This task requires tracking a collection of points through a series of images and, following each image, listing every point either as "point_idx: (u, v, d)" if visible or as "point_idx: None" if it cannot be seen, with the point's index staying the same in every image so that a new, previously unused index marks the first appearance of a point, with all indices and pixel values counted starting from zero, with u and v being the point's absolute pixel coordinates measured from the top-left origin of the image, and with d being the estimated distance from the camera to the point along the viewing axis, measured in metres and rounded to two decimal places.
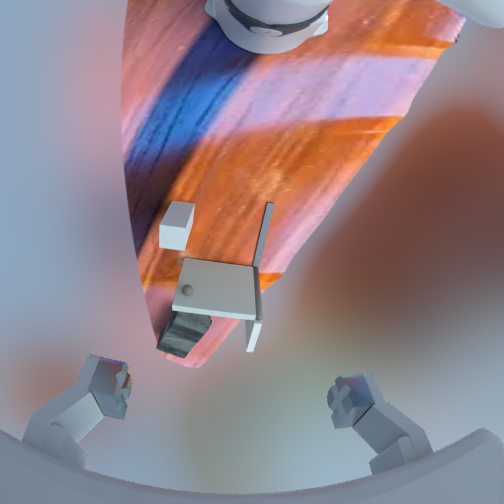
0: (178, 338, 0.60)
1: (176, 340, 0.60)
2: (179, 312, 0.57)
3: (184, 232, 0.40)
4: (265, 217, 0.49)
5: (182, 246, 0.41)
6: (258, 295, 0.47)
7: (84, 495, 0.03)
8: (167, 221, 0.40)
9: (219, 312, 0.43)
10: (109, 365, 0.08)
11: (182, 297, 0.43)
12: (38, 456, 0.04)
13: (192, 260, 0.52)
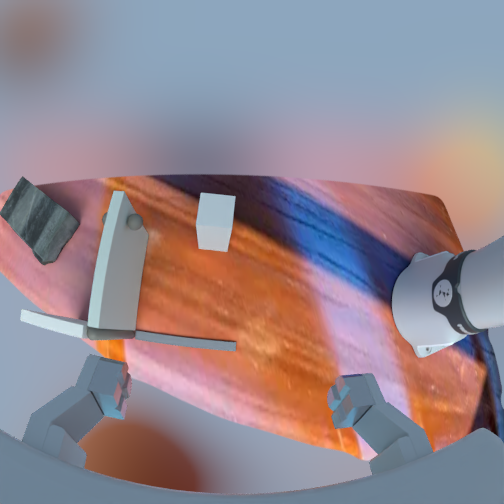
0: (31, 209, 0.31)
1: (28, 205, 0.31)
2: (70, 216, 0.33)
3: (225, 226, 0.30)
4: (214, 341, 0.35)
5: (203, 222, 0.30)
6: (114, 335, 0.25)
7: (84, 495, 0.03)
8: None
9: (104, 264, 0.23)
10: (109, 365, 0.08)
11: (126, 212, 0.26)
12: (38, 456, 0.04)
13: (146, 245, 0.36)
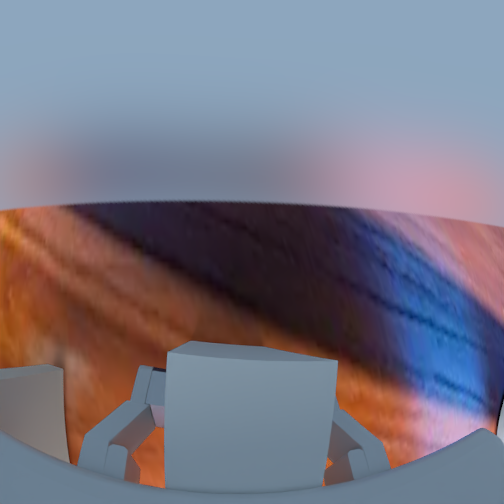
0: None
1: None
2: None
3: None
4: None
5: (195, 490, 0.05)
6: None
7: (84, 495, 0.03)
8: None
9: None
10: (163, 375, 0.08)
11: None
12: (38, 456, 0.04)
13: (60, 395, 0.11)
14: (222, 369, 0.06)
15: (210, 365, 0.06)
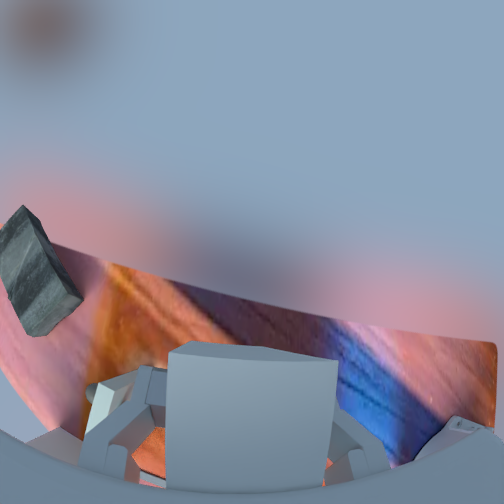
0: (23, 262, 0.23)
1: (21, 255, 0.23)
2: (70, 296, 0.24)
3: None
4: None
5: (196, 490, 0.05)
6: None
7: (84, 495, 0.03)
8: None
9: None
10: (162, 375, 0.08)
11: (118, 402, 0.15)
12: (38, 456, 0.04)
13: None
14: (223, 369, 0.06)
15: (211, 365, 0.06)
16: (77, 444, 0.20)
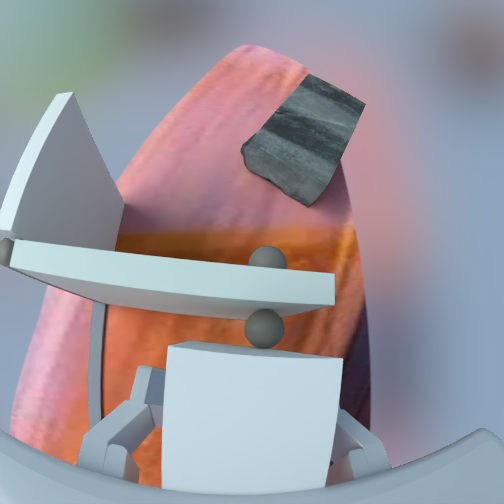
0: (322, 121, 0.24)
1: (327, 116, 0.25)
2: (319, 190, 0.23)
3: None
4: (99, 421, 0.17)
5: (193, 491, 0.04)
6: (49, 284, 0.12)
7: (84, 495, 0.03)
8: None
9: (126, 279, 0.09)
10: (162, 375, 0.08)
11: (284, 308, 0.12)
12: (38, 456, 0.04)
13: (244, 319, 0.22)
14: (224, 364, 0.06)
15: (212, 360, 0.05)
16: (112, 232, 0.21)
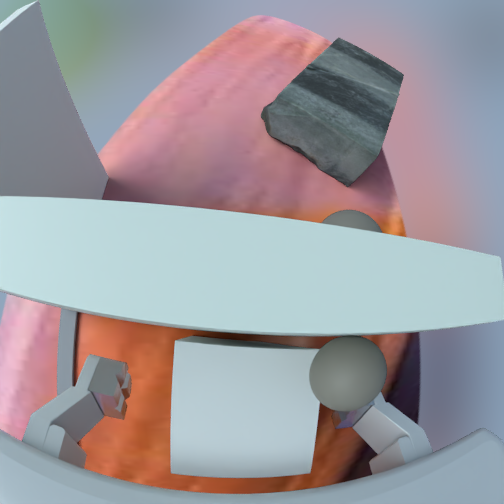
0: (362, 83, 0.18)
1: (366, 80, 0.18)
2: (367, 162, 0.17)
3: (286, 471, 0.06)
4: None
5: (197, 467, 0.06)
6: None
7: (84, 495, 0.03)
8: None
9: (13, 269, 0.02)
10: (109, 365, 0.08)
11: None
12: (38, 456, 0.04)
13: None
14: (222, 355, 0.07)
15: (212, 351, 0.07)
16: None
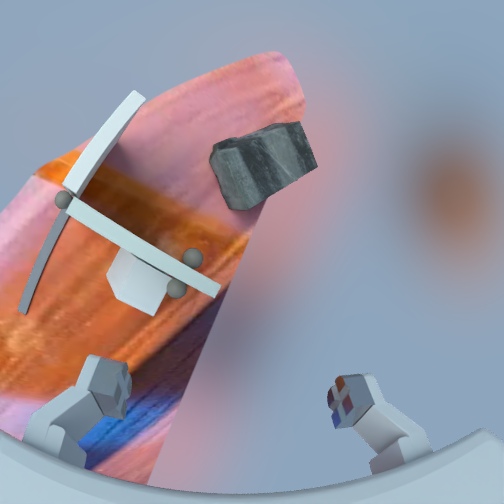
0: (278, 164, 0.35)
1: (283, 162, 0.36)
2: (242, 208, 0.34)
3: (147, 311, 0.23)
4: (31, 293, 0.23)
5: (125, 298, 0.22)
6: None
7: (84, 495, 0.03)
8: None
9: (136, 251, 0.18)
10: (108, 365, 0.08)
11: None
12: (38, 456, 0.04)
13: None
14: (147, 267, 0.23)
15: (145, 265, 0.23)
16: (100, 164, 0.25)
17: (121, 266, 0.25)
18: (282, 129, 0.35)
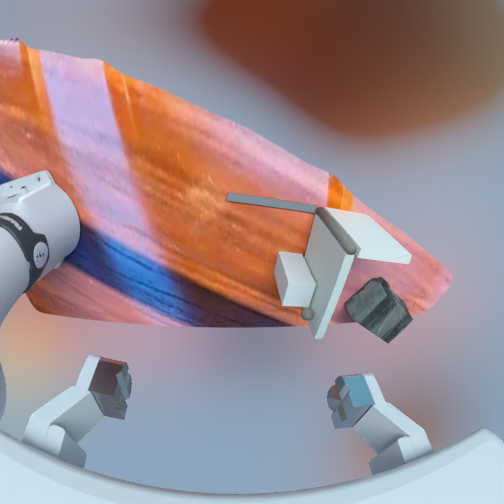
0: (383, 321, 0.48)
1: (385, 323, 0.49)
2: (350, 314, 0.48)
3: (284, 301, 0.38)
4: (246, 202, 0.40)
5: (289, 287, 0.37)
6: (333, 231, 0.34)
7: (84, 495, 0.03)
8: None
9: (333, 295, 0.33)
10: (109, 365, 0.08)
11: (313, 322, 0.37)
12: (38, 456, 0.04)
13: None
14: (311, 292, 0.38)
15: (312, 290, 0.38)
16: None
17: (299, 269, 0.41)
18: (404, 313, 0.48)
